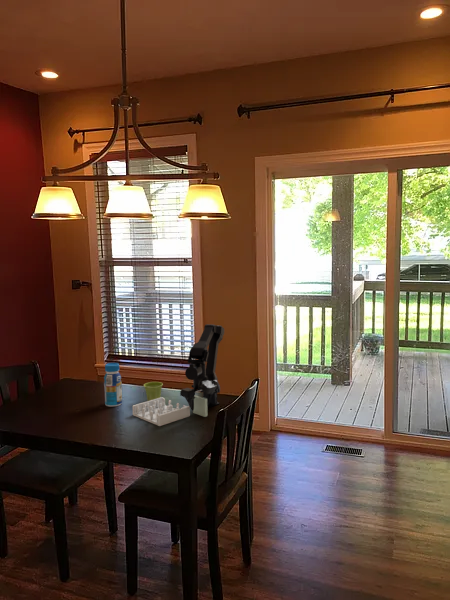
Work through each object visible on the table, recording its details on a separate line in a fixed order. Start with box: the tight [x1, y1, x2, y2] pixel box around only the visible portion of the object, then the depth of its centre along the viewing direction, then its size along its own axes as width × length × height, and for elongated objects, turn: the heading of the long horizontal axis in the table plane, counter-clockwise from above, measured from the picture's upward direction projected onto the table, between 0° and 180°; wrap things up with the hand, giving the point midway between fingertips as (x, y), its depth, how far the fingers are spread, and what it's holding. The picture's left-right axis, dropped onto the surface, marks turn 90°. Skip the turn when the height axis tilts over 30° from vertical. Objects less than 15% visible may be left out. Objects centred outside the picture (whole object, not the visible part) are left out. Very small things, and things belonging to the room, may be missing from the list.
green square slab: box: [192, 394, 209, 418], centre depth 216 cm, size 2×8×8 cm, turn 45°
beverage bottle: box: [103, 362, 123, 408], centre depth 232 cm, size 8×8×20 cm
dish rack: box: [132, 396, 191, 427], centre depth 216 cm, size 17×20×4 cm
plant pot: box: [143, 381, 164, 401], centre depth 236 cm, size 9×9×9 cm
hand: (200, 407), depth 216 cm, fingers open, 9 cm apart
